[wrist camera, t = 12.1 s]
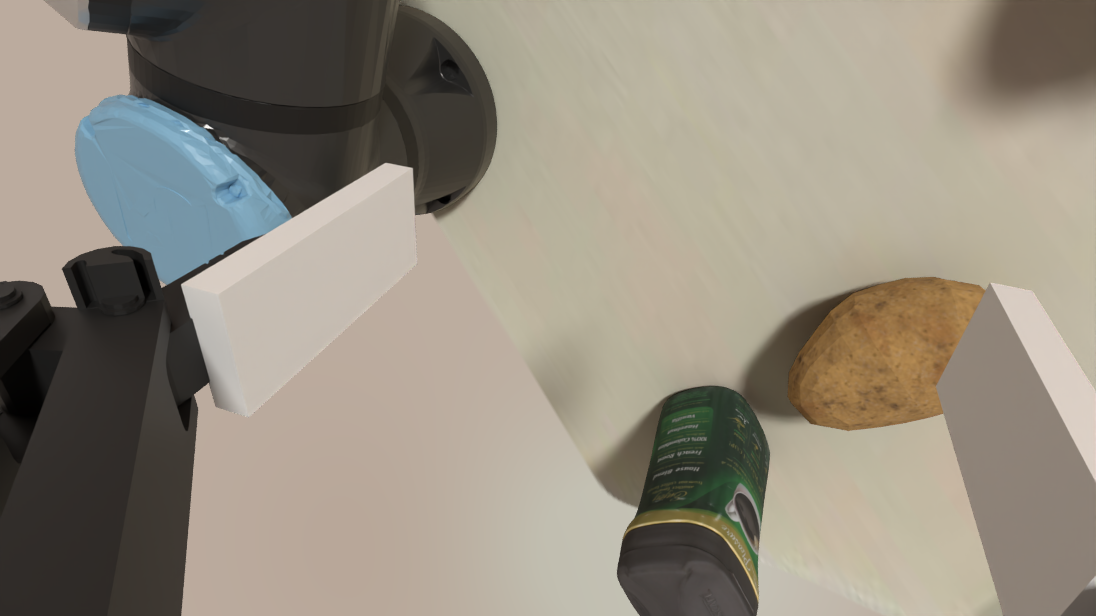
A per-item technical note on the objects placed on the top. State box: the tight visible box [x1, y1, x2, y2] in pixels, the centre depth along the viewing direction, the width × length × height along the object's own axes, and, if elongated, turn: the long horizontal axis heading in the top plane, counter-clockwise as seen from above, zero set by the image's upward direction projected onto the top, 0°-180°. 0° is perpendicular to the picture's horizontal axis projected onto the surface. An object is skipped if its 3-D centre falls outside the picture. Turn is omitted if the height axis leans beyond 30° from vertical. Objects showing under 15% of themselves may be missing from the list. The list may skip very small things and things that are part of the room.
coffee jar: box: [617, 386, 770, 616], centre depth 47 cm, size 10×8×19 cm
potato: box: [788, 277, 986, 431], centre depth 41 cm, size 10×14×8 cm
